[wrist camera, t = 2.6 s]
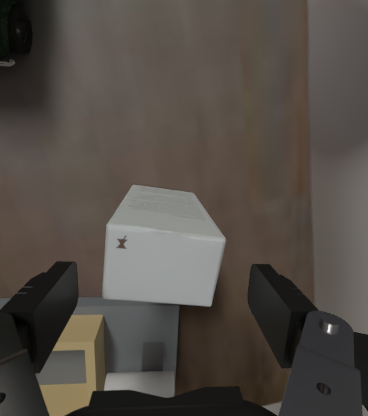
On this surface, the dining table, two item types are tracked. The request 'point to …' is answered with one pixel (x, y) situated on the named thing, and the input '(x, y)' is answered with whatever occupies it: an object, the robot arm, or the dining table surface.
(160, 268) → the skincare box
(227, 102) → the dining table surface
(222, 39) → the dining table surface
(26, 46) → the miniature car
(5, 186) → the dining table surface
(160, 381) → the stand
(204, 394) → the robot arm
